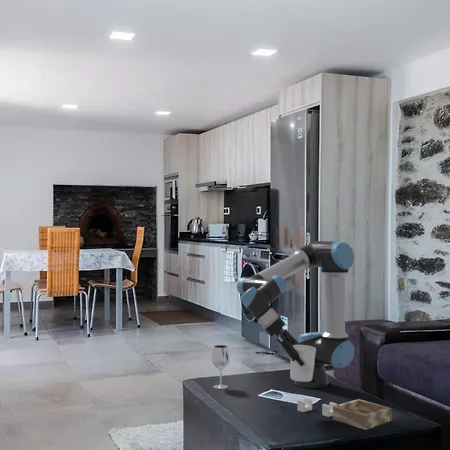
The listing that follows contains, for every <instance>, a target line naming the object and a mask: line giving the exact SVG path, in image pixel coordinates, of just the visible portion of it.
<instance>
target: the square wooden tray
mask: <svg viewBox="0 0 450 450" xmlns="http://www.w3.org/2000/svg"><path fill="white" fill-rule="evenodd" d="M332 420H334V421H335V422H336V421H337V422H340V423H343V424H345V423H346V425H349V426H352V427H355V428H359V429H361V428H362V429H361V430H366V431H367V430H370V429H372V428H376V427H378V425H379V426H382V425H384V424H383V423H385V424H387V423H386V422H388V423H390V422H389V421H391V422H392V407H389V406H385V405H381V404H378V403H375V402H370V401H367V400H363V399H360V398H358V399H355V400H351V401H348V402H344V403H341V404H340V403H339V404H337V405H336V406H333V416H332ZM381 424H382V425H381ZM375 426H376V427H375ZM369 428H370V429H369Z"/></svg>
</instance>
